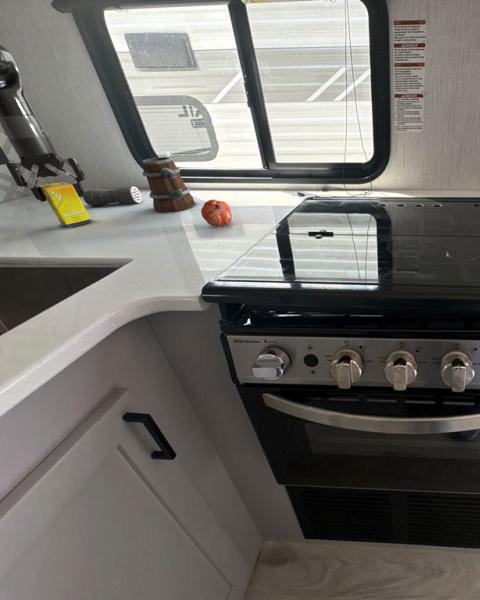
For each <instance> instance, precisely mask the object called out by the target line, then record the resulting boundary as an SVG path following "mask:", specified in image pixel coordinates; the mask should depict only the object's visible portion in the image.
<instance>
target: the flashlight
mask: <svg viewBox="0 0 480 600" xmlns="http://www.w3.org/2000/svg"><path fill="white" fill-rule="evenodd" d="M82 199H83V201H84V203H86V205H88V206H91V207H100V206H102V205H103V206H104V205H110V204H117V203H118V204H140V203H141V202H142V201H143V199H142V194H141V192H140V190H139V188H137V187H136V186H124V187H119V188H117V187H116V188H113V189H109V190H103V189H102V190H96V189H89V190H88V189H87V190H85V194H84V196H83V197H82Z"/></svg>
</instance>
